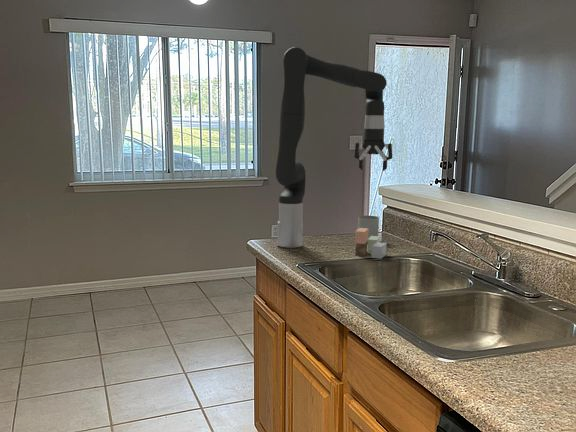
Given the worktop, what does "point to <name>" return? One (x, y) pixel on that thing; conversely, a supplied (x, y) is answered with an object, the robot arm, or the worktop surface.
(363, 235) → the terracotta brick
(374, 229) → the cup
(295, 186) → the robot arm
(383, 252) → the grey brick
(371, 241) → the sage brick
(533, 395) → the worktop surface
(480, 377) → the worktop surface
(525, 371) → the worktop surface
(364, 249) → the walnut brick
